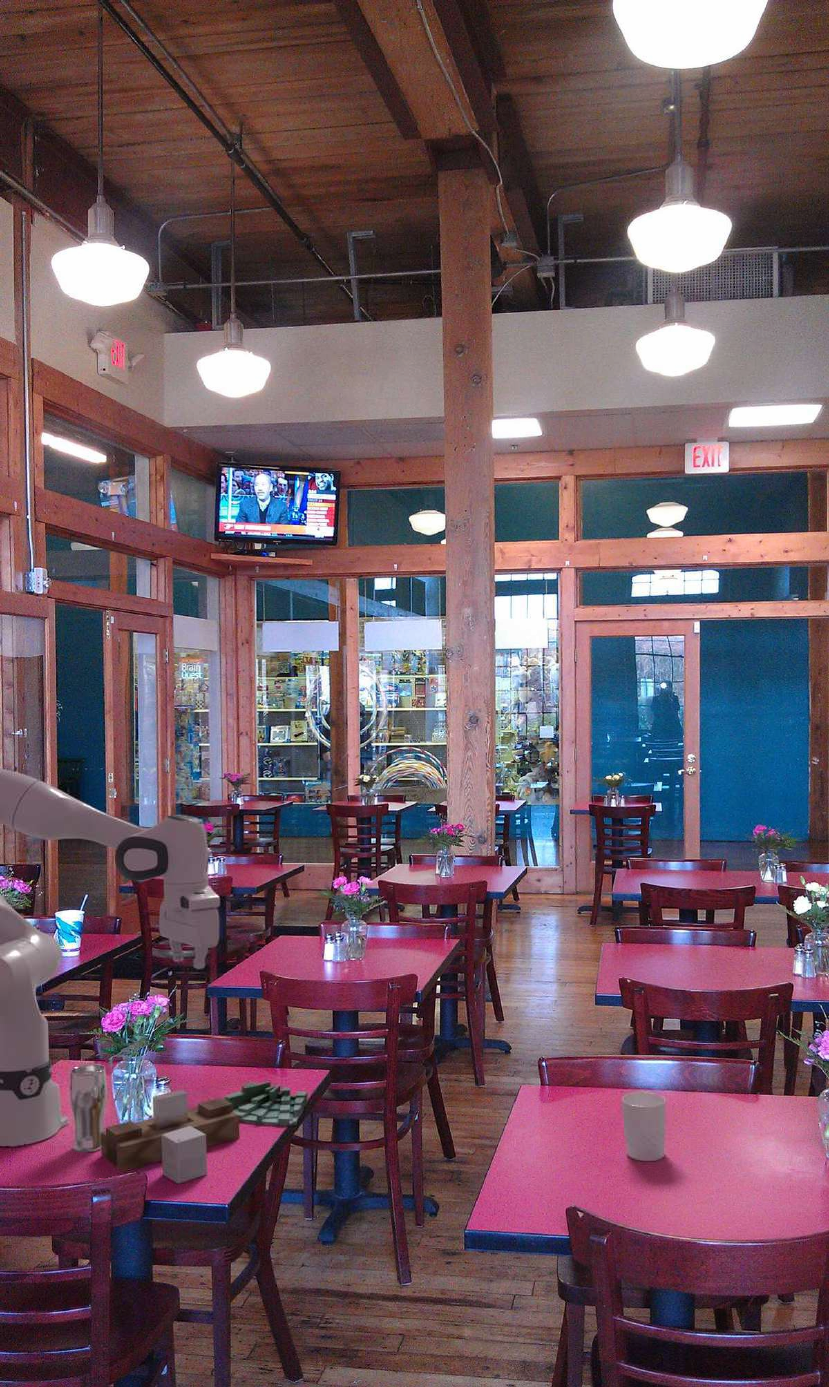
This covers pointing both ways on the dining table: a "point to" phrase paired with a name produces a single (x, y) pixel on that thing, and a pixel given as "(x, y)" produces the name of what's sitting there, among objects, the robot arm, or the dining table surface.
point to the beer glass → (88, 1105)
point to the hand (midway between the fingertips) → (188, 964)
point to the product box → (184, 1154)
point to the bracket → (170, 1110)
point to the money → (267, 1104)
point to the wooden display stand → (144, 1144)
